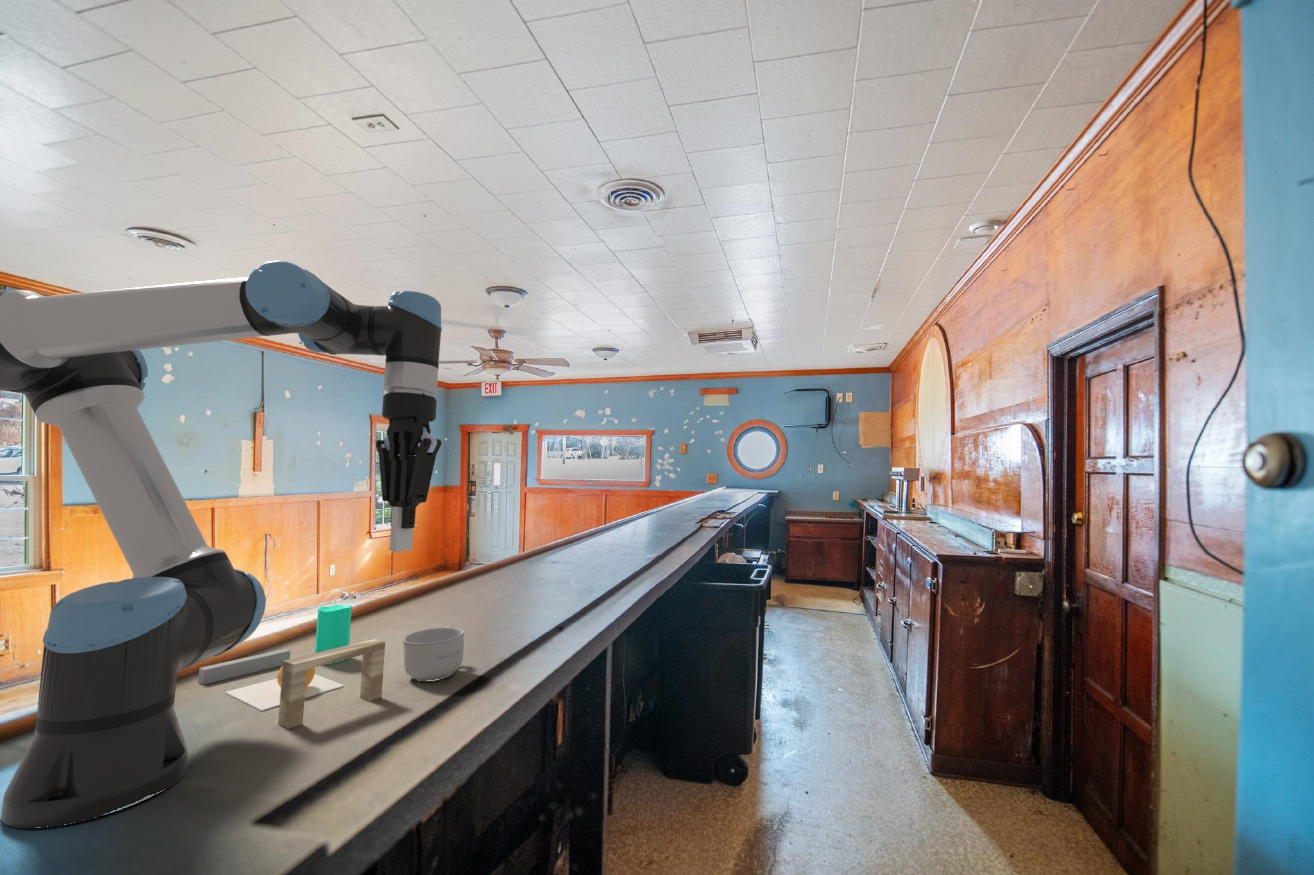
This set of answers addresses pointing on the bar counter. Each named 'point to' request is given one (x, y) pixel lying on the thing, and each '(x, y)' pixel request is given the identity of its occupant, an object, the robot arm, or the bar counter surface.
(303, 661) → the bridge
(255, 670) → the stopper
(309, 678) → the ball
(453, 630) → the teacup
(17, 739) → the bar counter surface
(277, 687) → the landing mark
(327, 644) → the candle
